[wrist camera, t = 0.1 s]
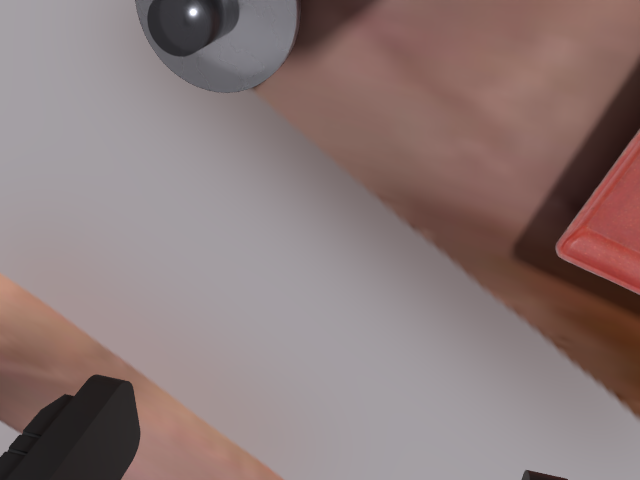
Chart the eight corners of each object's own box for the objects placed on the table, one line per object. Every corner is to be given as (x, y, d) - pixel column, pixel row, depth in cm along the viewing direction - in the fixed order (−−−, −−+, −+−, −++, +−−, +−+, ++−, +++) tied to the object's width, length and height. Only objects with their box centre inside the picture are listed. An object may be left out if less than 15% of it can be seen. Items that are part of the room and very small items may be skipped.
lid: (146, -96, 36) (72, -91, 30) (309, -87, 34) (268, -79, 28) (162, 73, 41) (102, 107, 35) (305, 89, 39) (269, 129, 33)
